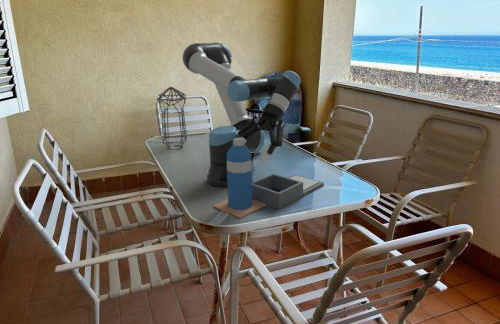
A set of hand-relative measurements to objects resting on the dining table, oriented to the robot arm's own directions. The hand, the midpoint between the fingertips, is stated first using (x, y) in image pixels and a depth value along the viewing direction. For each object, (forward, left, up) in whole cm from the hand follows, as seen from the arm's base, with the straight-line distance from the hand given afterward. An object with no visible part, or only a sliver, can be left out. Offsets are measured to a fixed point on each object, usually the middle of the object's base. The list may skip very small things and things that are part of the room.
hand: (248, 157), depth 129 cm
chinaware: (-44, +50, -19) cm, 70 cm away
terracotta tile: (-1, -4, -18) cm, 19 cm away
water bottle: (-1, -4, -18) cm, 18 cm away
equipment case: (+4, +19, -18) cm, 27 cm away
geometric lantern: (-84, +28, -18) cm, 91 cm away
